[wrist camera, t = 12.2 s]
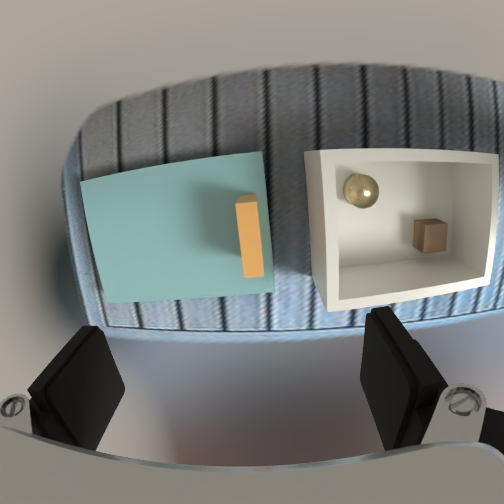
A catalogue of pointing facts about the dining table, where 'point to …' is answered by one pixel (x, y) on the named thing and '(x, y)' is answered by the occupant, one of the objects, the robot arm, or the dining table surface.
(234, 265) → the lid
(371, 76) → the dining table surface
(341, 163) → the tub
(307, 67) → the dining table surface
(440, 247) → the walnut block
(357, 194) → the brass ball
